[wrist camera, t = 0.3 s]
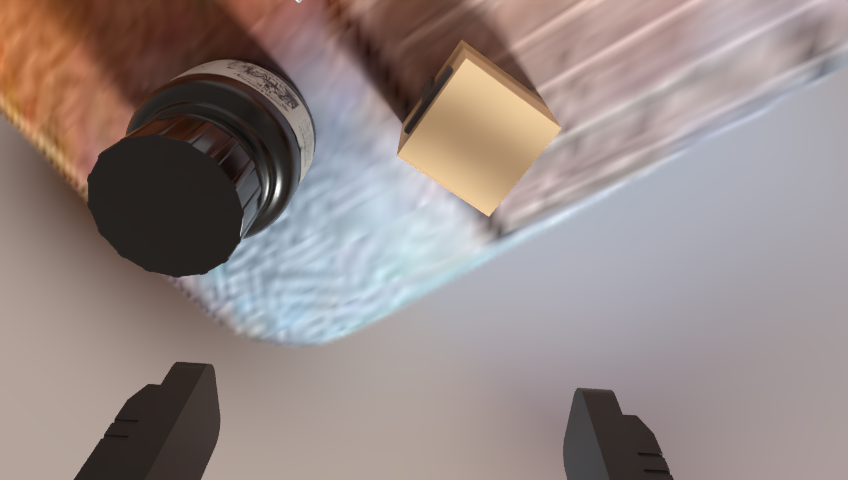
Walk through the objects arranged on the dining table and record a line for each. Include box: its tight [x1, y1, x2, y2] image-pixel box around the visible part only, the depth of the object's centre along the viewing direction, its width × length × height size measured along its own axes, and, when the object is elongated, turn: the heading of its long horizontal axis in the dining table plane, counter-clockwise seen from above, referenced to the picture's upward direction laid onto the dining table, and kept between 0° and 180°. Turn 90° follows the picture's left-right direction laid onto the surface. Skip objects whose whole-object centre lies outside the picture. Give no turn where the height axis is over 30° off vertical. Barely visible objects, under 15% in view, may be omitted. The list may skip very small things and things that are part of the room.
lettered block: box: [397, 39, 562, 216], centre depth 33 cm, size 6×7×6 cm
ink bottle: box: [87, 58, 316, 278], centre depth 31 cm, size 10×9×12 cm
